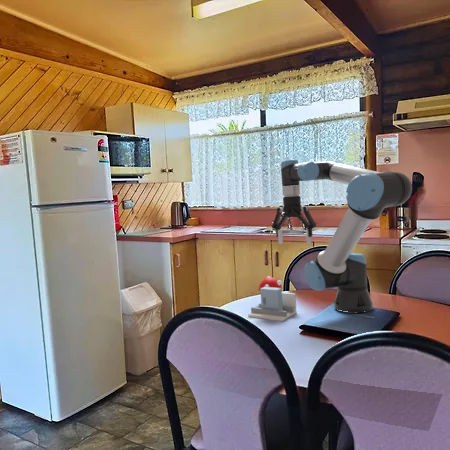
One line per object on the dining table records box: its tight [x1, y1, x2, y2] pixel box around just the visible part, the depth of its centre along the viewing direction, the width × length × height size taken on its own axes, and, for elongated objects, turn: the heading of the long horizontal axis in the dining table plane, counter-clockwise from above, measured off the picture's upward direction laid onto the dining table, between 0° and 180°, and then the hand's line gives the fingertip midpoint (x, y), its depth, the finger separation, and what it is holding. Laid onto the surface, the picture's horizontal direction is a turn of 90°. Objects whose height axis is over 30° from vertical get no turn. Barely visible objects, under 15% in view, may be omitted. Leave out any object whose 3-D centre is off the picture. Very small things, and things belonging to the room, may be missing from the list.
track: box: [247, 292, 298, 322], centre depth 171 cm, size 16×12×8 cm
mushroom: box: [258, 276, 283, 292], centre depth 189 cm, size 11×11×12 cm
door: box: [259, 287, 283, 311], centre depth 171 cm, size 8×4×10 cm, turn 54°
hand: (294, 244), depth 182 cm, fingers open, 13 cm apart
